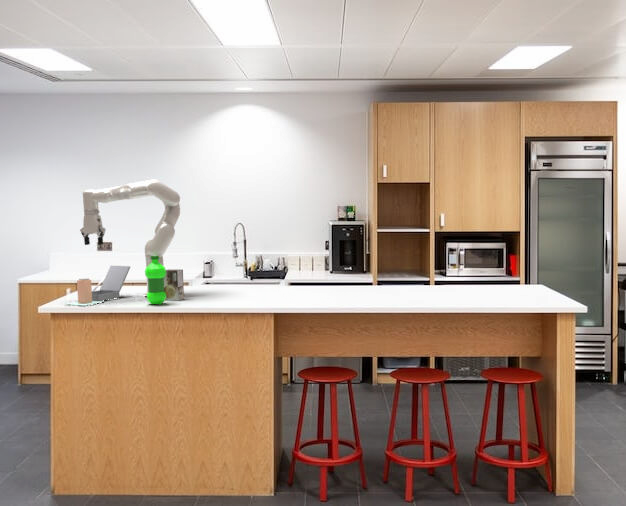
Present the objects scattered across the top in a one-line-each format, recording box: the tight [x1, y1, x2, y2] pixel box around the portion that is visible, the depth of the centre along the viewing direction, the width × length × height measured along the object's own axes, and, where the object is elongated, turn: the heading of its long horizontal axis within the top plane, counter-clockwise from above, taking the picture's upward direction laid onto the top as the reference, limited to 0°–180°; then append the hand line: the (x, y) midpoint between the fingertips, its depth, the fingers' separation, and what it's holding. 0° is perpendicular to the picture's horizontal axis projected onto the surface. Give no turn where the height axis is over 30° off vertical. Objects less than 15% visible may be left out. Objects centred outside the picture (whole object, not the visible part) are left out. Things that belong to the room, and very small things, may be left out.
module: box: [76, 277, 93, 304], centre depth 377 cm, size 5×5×13 cm
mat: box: [66, 301, 103, 307], centre depth 378 cm, size 14×14×1 cm
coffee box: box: [164, 268, 185, 301], centre depth 386 cm, size 9×6×16 cm
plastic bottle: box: [144, 256, 167, 305], centre depth 371 cm, size 10×10×25 cm
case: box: [92, 265, 131, 301], centre depth 395 cm, size 16×25×17 cm, turn 150°
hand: (93, 244), depth 388 cm, fingers open, 9 cm apart
